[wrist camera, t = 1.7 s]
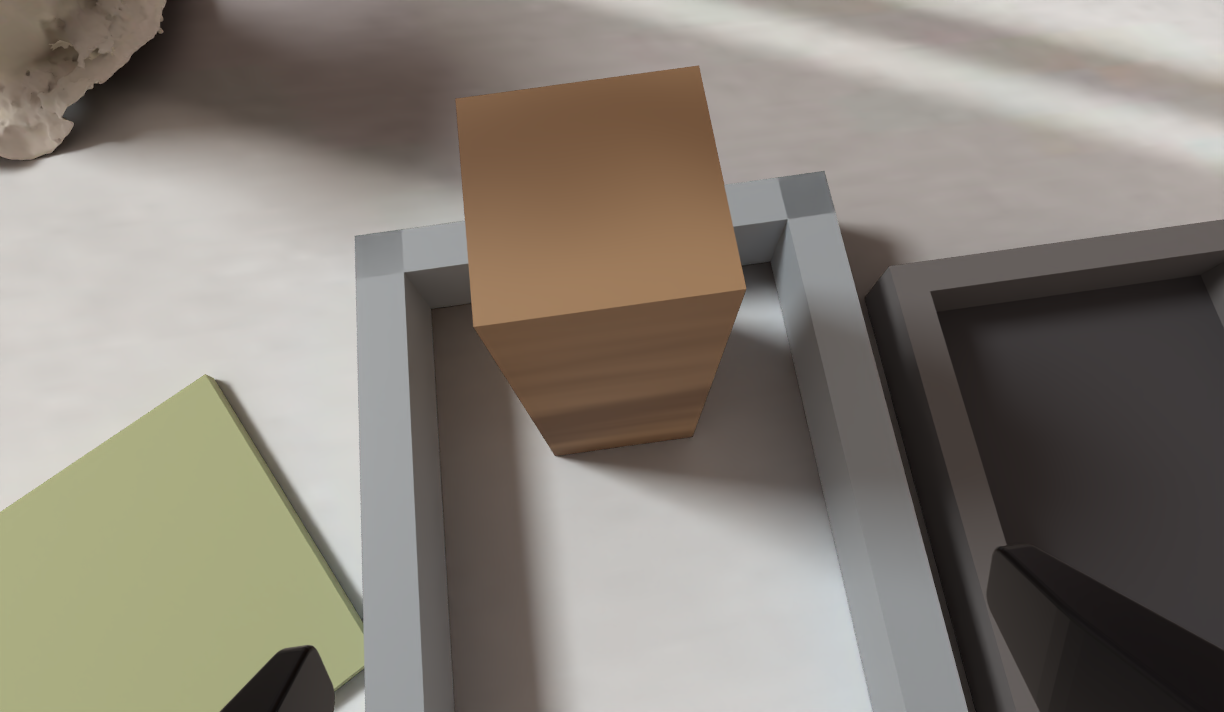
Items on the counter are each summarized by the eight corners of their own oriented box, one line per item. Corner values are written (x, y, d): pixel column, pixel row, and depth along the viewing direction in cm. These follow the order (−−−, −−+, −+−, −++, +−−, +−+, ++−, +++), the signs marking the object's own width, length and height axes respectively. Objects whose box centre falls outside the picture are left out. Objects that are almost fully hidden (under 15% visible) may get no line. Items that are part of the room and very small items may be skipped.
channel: (945, 787, 20) (997, 822, 17) (409, 865, 19) (370, 913, 17) (803, 217, 25) (824, 170, 22) (386, 275, 25) (354, 235, 22)
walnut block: (692, 436, 23) (746, 288, 12) (555, 456, 23) (473, 327, 11) (670, 309, 24) (699, 65, 13) (541, 327, 24) (455, 98, 13)
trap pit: (1406, 692, 20) (1511, 707, 18) (987, 753, 20) (1034, 776, 17) (1209, 249, 24) (1270, 213, 22) (864, 297, 24) (889, 266, 22)
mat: (382, 654, 21) (376, 655, 21) (44, 918, 19) (30, 926, 19) (213, 378, 24) (205, 374, 24) (-93, 585, 22) (-109, 585, 22)
